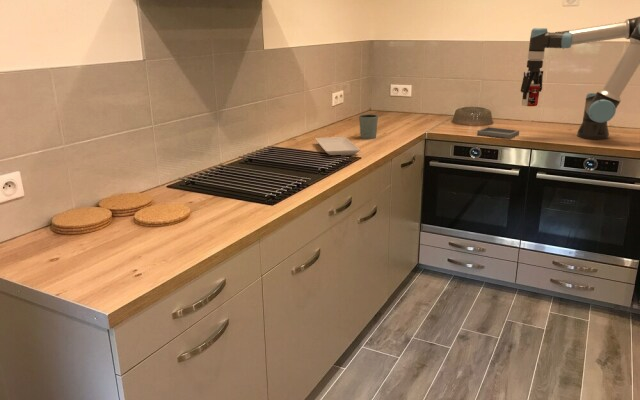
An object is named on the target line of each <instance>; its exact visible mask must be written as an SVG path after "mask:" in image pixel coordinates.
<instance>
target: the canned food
mask: <svg viewBox="0 0 640 400" xmlns="http://www.w3.org/2000/svg"><path fill="white" fill-rule="evenodd" d="M539 90H540V84H534V82H532V83H531V85H530V88H529V91H528V93H529V96H528V104H527V106H526V107H537V106H538V105H539V104H538V103H539V97H540V92H539ZM521 99H522V100H523V97H522V98H521ZM522 100H521V101H522ZM523 106H524V105H522V107H523ZM524 107H525V106H524Z"/></svg>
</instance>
